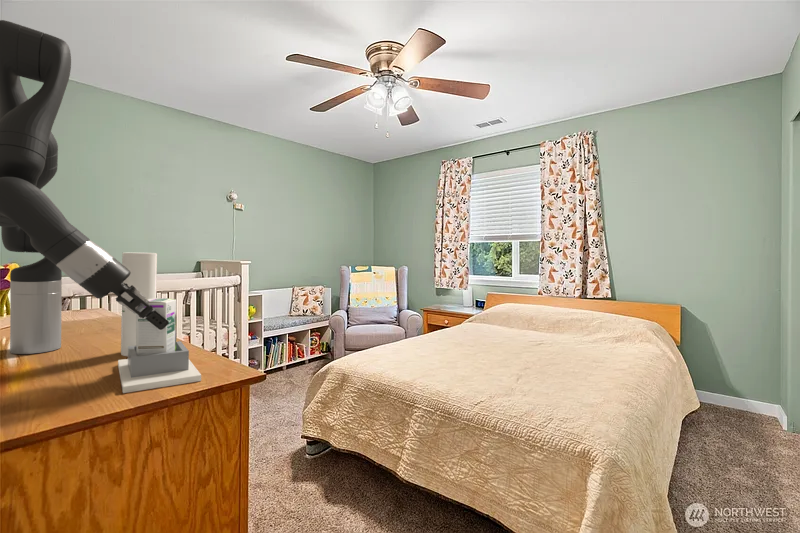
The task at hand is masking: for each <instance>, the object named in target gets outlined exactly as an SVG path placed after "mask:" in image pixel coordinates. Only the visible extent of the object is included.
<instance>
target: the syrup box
mask: <svg viewBox="0 0 800 533" xmlns="http://www.w3.org/2000/svg"><path fill="white" fill-rule="evenodd" d="M148 301H149V303H148V304H149V305H150V306H152V307H153V308H154V309H155V311H156V312H158V313H159V314H160V315H161V316H163V317H164V318H165V319H166V320H168V322H169V324H168V325H167V326H166V327H165V328H164V329H162V330H159V329H158V328H157V327H155V326H154V325H153V324H152V323H150V322H149V321H148V320H147V319H144V318H140V317H139V315H138V314H137V313H136V354H137V356H138V355H147V354H156V353H165V352H174V351H176V342H177V299H176V298H165V297H164V298H162V297H161V298H160V297H159V298H157V297H156V299H148ZM145 308H146V306H144V307H143V308H142V309H141V310H140V312H141V311H142V310H144V309H145Z"/></svg>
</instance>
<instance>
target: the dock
mask: <svg viewBox="0 0 800 533" xmlns="http://www.w3.org/2000/svg"><path fill="white" fill-rule="evenodd" d="M117 367H118V373H119V379H120V386H121V391H122V394H126V393H133V392H139V391H145V390H146V391H147V390H151V389H159V388H165V387H171V386H177V385H183V384H189V383H190V384H191V383H195V382H196V383H197V382H201V381H202V374H201V372H200V371H199V370H198V369H197V367H196V366H195V365H194V363H193V362H192V361H191V360H190V351H189V349H188V348H187V347H186V345H185V344H184V343H183V342H182V341H180V340H179V341H176V351H174V352H165V353H156V354H147V355H138V356H137V354H136V346H128V356H127V359H126V358H124V359H118V360H117Z"/></svg>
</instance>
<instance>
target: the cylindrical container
mask: <svg viewBox="0 0 800 533" xmlns="http://www.w3.org/2000/svg"><path fill="white" fill-rule="evenodd" d="M121 257H122V258H121V260H122V262H121V264H122V265H124V266H125V267H126V268H127V269H128V270H130V272H131V274H130V276H129V277H128V278H127V279H126V280H124V281H123V283H125V284H128V286H129V287H130V286H131V285H133V286H134V287H135V288H136V289H138V290H139V291H140V293H141V294H142V295H143V296H145V297H146V299H147V300H148V299H156V298H157V277H158V276H157V275H158V274H157V272H158V271H157V270H158V267H157V266H158V253H156V252H134V251H133V252H122V255H121ZM120 321H121V328H120V329H121V330H120V332H121V334H120V337H121V338H120V354H121V355H120V356H123V357H128V346H136V314H135V313H133V312H131V311H130V310H129V309H128V308H126V307H125V306H123V305H121V320H120Z"/></svg>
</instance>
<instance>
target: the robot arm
mask: <svg viewBox="0 0 800 533" xmlns="http://www.w3.org/2000/svg"><path fill="white" fill-rule="evenodd" d="M71 69H72V55H71V49H70V47H69V45H68V43H67V42H66V41H65V40H63V39H62V38H59V37H56V36H55V35H52V34H49V33H45V32H43V31H40V30H36V29H33V28H31V27H27V26H25V25H21V24H18V23H16V22H12V21H8V20H4V19H0V227H1V229H0V230H1V231H0V232H1V240H2V244H3V247H4V248H5V249H6V250H7V251H8V252H14V253H31V254H32V253H37V254H40V255H42V256H43V258H41V259H40V260H38V261H36V262H33V263H29V264H28V265H27V264H26V265H23V266H18V267H15V268H13V269H11V270H10V275H9V276H10V278H9V280H10V282H9V285H10V286H9V287H10V288H9V291H10V296H9V298H10V301H9V303H10V305H9V306H10V309H9V310H10V315H9V316H10V317H9V318H10V322H9V323H10V325H9V326H10V330H9V332H10V333H9V334H10V335H9V339H10V340H9V353H11V354H14V355H15V354H16V355H29V354H40V353H46V352H52V351H56V350H59V349H60V348H61V347H62V306H63V304H62V301H63V300H62V298H63V297H62V294H63V293H62V290H63V289H62V287H63V286H62V285H63V282H62V278H63V277H62V272H63V274H65V275H66V276H67V277H68V278H70V279H71V280H72V281H73V282H74V283H76V284H78V285H79V286H80V287H82V289H84V290H85V291H87V292H88V293H90V295H92V296H93V297H94V298H96V299H97V300H98V299H102V298H104V297H106V296H108V294H111V293H112V294H114V295H115V296H116V298H115V301H116V303H118V304H120V305H121V306H122V305H123V306H125V307H126V308H128V309H129V310H130V311H131V312H133V313H135V314H136V313H137V314H138V315H139V317H140V318H144V319H147V320H148V321H149V322H150V323H152V324H153V325H154V326H155V327H157V328H158V329H159V330H162V329H164V328H165V327H166V326H167V325H168V324H169V322H168V320H166V319H165V318H164V317H163V316H161V315H160V314H159V313H158V312H156V311H155V309H154V308H153V307H152V306H150V305H149V304H148V303H149V301H148V300H147V299H146V297H145V296H143V295H142V294H141V293H140V291H139V290H138V289H136V288H135V287H134V286H133V285H131V286H130V287H129V286H128V284H125V283H123V281H124V280H126V279H127V278H128V277H129V276H130V274H131V272H130V270H128V269H127V268H126V267H125V266H124V265H122V262H120V261H119V260H117V259H116V258H115V257H114V256H113V255H111V254H110V253H109V252H108V251H107V250H106V249H104V248H103V247H101V245H99V244H97V243H96V242H94V241H93V240H91V239H90V238H89V237H88V236H86V235H85V234H84V233H83V232H81V231H80V230H79V229H78V228H77V227H75V226H74V225H72V224H71V223H70V222H69V220H68V219H67V218H66V217H65V216H64V214H63V213H62V212H61V210H60V209H59V208H58V207H57V206H56V204H55V203H54V202H53V201H52V200H51V198H49V196H48V195H47V194H46V193H45V192H44V191H43V190H42V189H43V188H44V187H45V186H47V184H48V183H49V182H50V181H51V180H52V179H53V178H54V177H55V176H56V174H57V172H58V156H59V152H58V151H59V144H58V142H57V139H56V137H55V135H54V134H53V133H52V130H53V125H54V124H55V120H56V118H57V116H58V112H59V110H60V107H61V105H62V101H63V100H64V99H63V98H64V95H65V92H66V91H67V85H68V84H69V79H70V76H71ZM20 77H21V78H25V79H29V80H32V81H36V82H40V83H42V86H41V87H40V89H39V90H38V91H36V93H34V94H33V95H32V96H31V97H29V98H28V97H27V95H26V92H25V90H24V88H23V84H22V81H21V78H20ZM144 306H146V308H145V309H144V310H142V311H141V312H140V310H141V309H142V308H143V307H144Z"/></svg>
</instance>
